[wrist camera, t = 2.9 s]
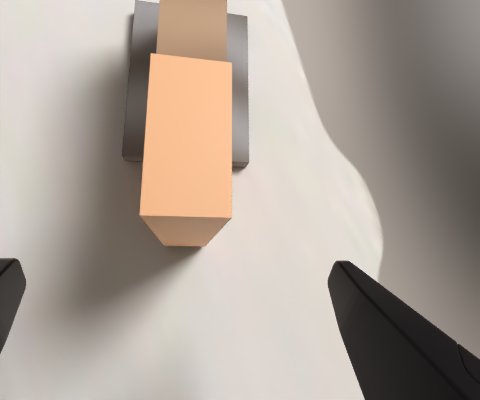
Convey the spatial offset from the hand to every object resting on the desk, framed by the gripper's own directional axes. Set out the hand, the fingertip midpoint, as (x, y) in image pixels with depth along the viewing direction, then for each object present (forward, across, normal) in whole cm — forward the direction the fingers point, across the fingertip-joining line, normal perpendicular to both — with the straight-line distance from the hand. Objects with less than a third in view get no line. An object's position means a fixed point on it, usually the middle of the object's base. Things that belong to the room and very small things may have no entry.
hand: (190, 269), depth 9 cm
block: (+10, 0, +4) cm, 11 cm away
